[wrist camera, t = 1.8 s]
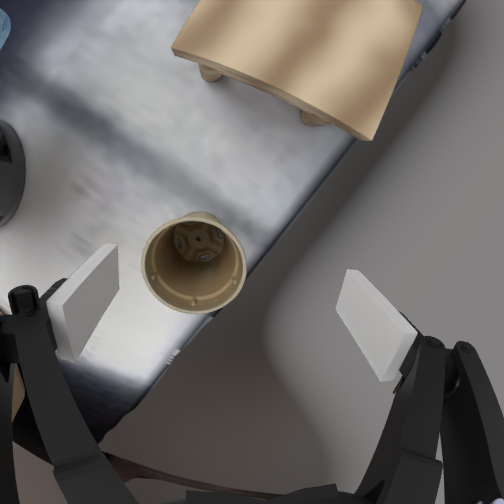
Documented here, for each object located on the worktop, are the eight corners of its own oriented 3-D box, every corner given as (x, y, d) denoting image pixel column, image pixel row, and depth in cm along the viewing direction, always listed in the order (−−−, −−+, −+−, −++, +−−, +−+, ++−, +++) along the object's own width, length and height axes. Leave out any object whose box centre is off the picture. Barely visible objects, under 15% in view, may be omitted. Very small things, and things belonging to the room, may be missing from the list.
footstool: (187, 81, 26) (171, 47, 15) (248, -22, 22) (264, -79, 11) (319, 139, 30) (371, 140, 19) (366, 36, 26) (423, 6, 15)
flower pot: (195, 289, 35) (190, 331, 27) (142, 233, 32) (120, 263, 24) (255, 243, 34) (267, 275, 26) (203, 180, 31) (198, 194, 23)
